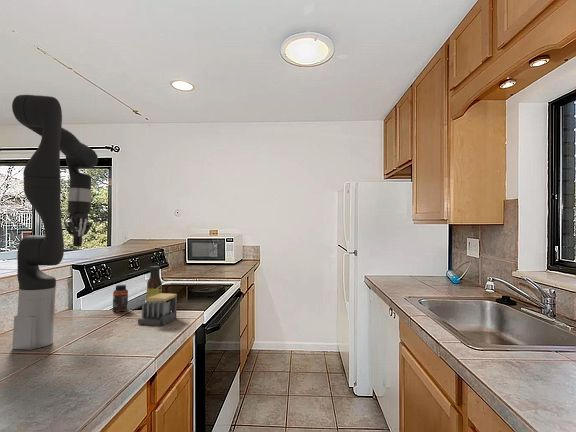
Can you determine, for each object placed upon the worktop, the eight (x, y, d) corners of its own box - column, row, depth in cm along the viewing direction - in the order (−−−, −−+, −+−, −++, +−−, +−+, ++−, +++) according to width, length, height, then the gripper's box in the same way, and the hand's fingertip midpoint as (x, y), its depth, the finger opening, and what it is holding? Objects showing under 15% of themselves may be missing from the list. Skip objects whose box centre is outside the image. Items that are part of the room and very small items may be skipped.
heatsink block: (163, 324, 133) (164, 304, 133) (141, 323, 133) (142, 303, 134) (170, 320, 138) (171, 301, 139) (149, 319, 139) (150, 300, 140)
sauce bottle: (161, 313, 150) (163, 266, 151) (145, 314, 147) (147, 267, 148) (160, 310, 156) (162, 265, 157) (145, 310, 153) (147, 265, 154)
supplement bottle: (130, 309, 155) (131, 284, 156) (122, 312, 149) (123, 286, 150) (117, 309, 156) (118, 283, 156) (109, 312, 150) (110, 285, 150)
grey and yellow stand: (163, 325, 130) (164, 298, 130) (137, 324, 131) (138, 297, 131) (176, 318, 141) (177, 293, 141) (152, 317, 142) (153, 292, 142)
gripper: (76, 199, 125) (73, 247, 124) (100, 202, 138) (98, 246, 138) (57, 199, 126) (54, 246, 125) (82, 202, 139) (80, 245, 138)
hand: (77, 246), depth 131 cm, fingers closed
